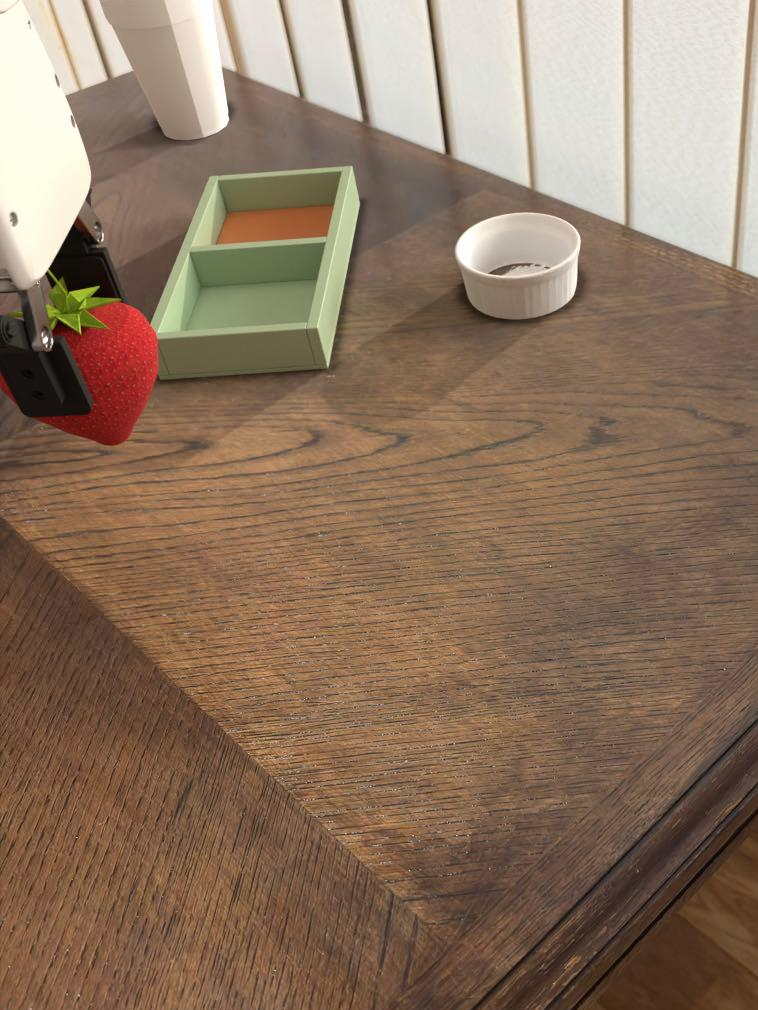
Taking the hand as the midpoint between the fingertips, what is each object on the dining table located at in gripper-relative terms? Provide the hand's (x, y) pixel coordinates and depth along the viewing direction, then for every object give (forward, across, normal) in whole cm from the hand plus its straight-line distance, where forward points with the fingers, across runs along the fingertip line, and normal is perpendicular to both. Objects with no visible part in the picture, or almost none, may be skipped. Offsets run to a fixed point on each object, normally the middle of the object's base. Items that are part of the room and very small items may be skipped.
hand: (80, 361), depth 51 cm
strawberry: (+5, 0, 0) cm, 5 cm away
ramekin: (+14, -24, +21) cm, 35 cm away
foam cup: (+15, -58, -10) cm, 60 cm away
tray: (+14, -28, +2) cm, 31 cm away
